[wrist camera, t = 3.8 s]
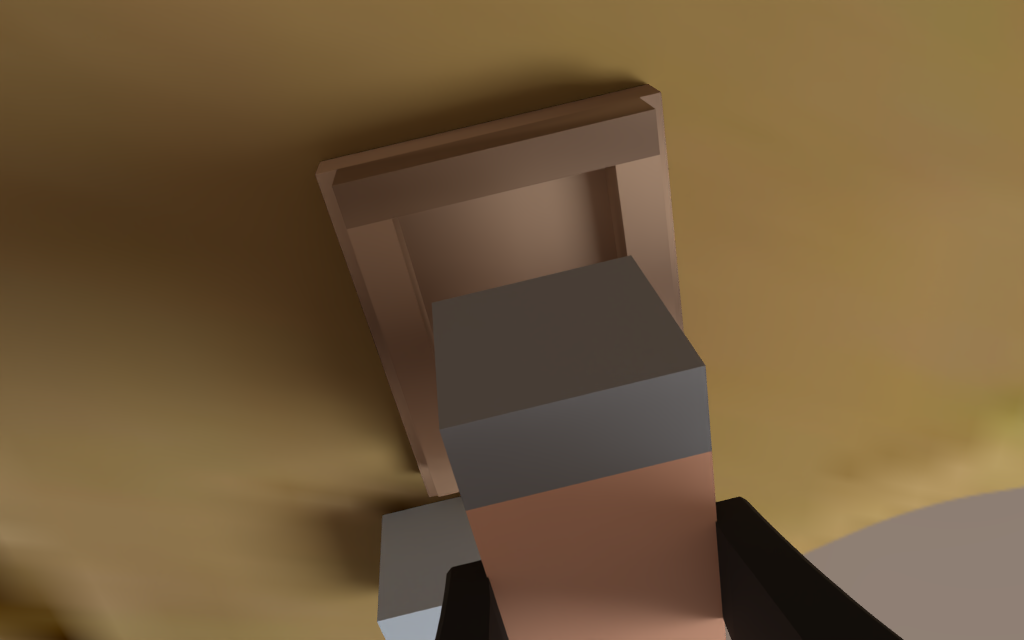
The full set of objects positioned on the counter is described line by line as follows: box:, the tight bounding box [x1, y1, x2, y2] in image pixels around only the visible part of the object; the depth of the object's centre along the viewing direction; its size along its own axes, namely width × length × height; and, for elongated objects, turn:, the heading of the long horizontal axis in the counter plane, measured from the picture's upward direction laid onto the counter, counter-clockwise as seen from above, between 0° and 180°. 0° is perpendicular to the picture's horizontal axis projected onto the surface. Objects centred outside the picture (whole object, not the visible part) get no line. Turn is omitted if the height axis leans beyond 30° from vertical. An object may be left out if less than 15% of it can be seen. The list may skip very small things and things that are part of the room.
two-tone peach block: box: [432, 255, 726, 640], centre depth 13 cm, size 8×4×4 cm, turn 12°
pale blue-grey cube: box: [377, 496, 481, 640], centre depth 22 cm, size 4×4×4 cm
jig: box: [315, 84, 684, 497], centre depth 18 cm, size 10×8×2 cm
